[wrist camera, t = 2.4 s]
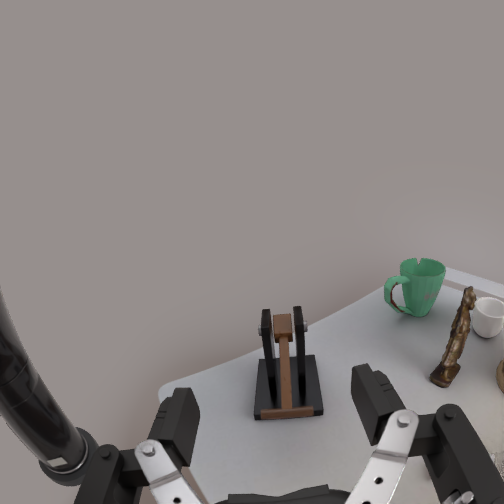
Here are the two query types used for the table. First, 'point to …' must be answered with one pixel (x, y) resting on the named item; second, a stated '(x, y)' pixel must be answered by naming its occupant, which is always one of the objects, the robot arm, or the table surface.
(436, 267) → the mug
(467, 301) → the figurine
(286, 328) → the lever
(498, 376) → the lantern
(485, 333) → the teacup
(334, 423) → the table surface
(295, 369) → the bracket
